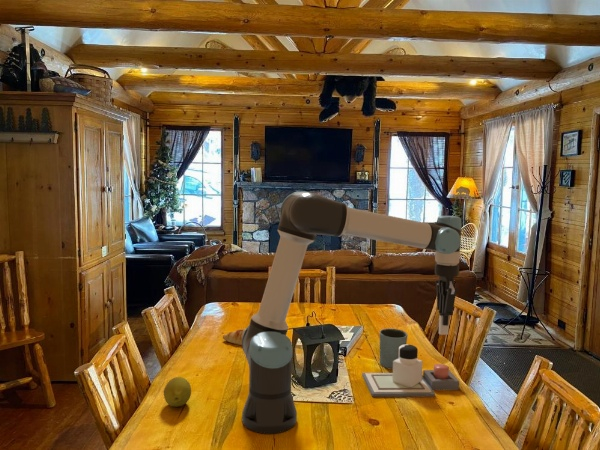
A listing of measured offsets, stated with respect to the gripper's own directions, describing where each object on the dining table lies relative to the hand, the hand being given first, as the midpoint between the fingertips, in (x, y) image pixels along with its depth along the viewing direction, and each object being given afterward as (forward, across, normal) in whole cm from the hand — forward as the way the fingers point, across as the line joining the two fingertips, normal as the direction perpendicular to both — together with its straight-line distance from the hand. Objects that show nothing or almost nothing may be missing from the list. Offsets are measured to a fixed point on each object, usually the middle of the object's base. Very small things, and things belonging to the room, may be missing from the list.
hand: (443, 333), depth 160 cm
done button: (+15, 0, 0) cm, 15 cm away
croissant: (+18, +41, +66) cm, 79 cm away
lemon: (+17, -14, +84) cm, 87 cm away
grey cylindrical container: (+18, +17, +12) cm, 27 cm away
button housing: (+17, 0, 0) cm, 17 cm away
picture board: (+17, -1, +15) cm, 23 cm away
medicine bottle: (+16, -1, +12) cm, 20 cm away
